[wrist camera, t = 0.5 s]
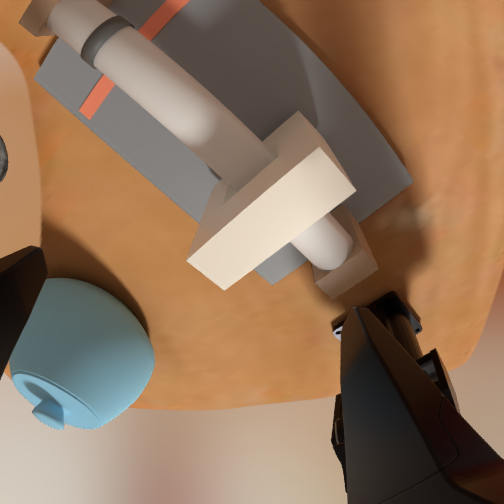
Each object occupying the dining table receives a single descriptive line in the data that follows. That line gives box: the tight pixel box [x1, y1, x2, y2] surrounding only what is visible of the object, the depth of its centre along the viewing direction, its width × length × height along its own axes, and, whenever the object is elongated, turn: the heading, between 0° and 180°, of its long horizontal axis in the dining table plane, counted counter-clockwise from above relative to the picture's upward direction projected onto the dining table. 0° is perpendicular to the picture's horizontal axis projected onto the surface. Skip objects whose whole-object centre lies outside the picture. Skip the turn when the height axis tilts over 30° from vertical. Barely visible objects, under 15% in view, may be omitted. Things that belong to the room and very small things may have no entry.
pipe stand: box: [19, 0, 414, 300], centre depth 14 cm, size 22×12×6 cm, turn 44°
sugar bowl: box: [9, 278, 155, 430], centre depth 24 cm, size 15×15×12 cm
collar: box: [186, 110, 356, 290], centre depth 14 cm, size 2×6×7 cm, turn 134°
